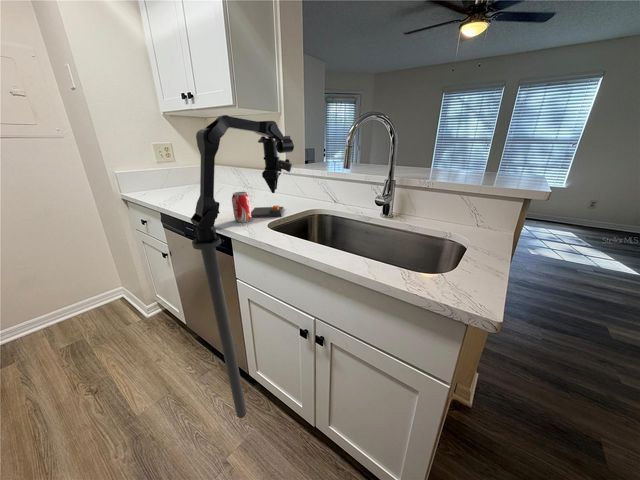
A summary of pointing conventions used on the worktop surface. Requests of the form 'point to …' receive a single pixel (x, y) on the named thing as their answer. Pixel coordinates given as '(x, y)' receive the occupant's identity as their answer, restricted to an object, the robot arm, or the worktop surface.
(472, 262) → the worktop surface
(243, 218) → the soda can
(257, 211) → the scale
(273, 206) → the tare button
